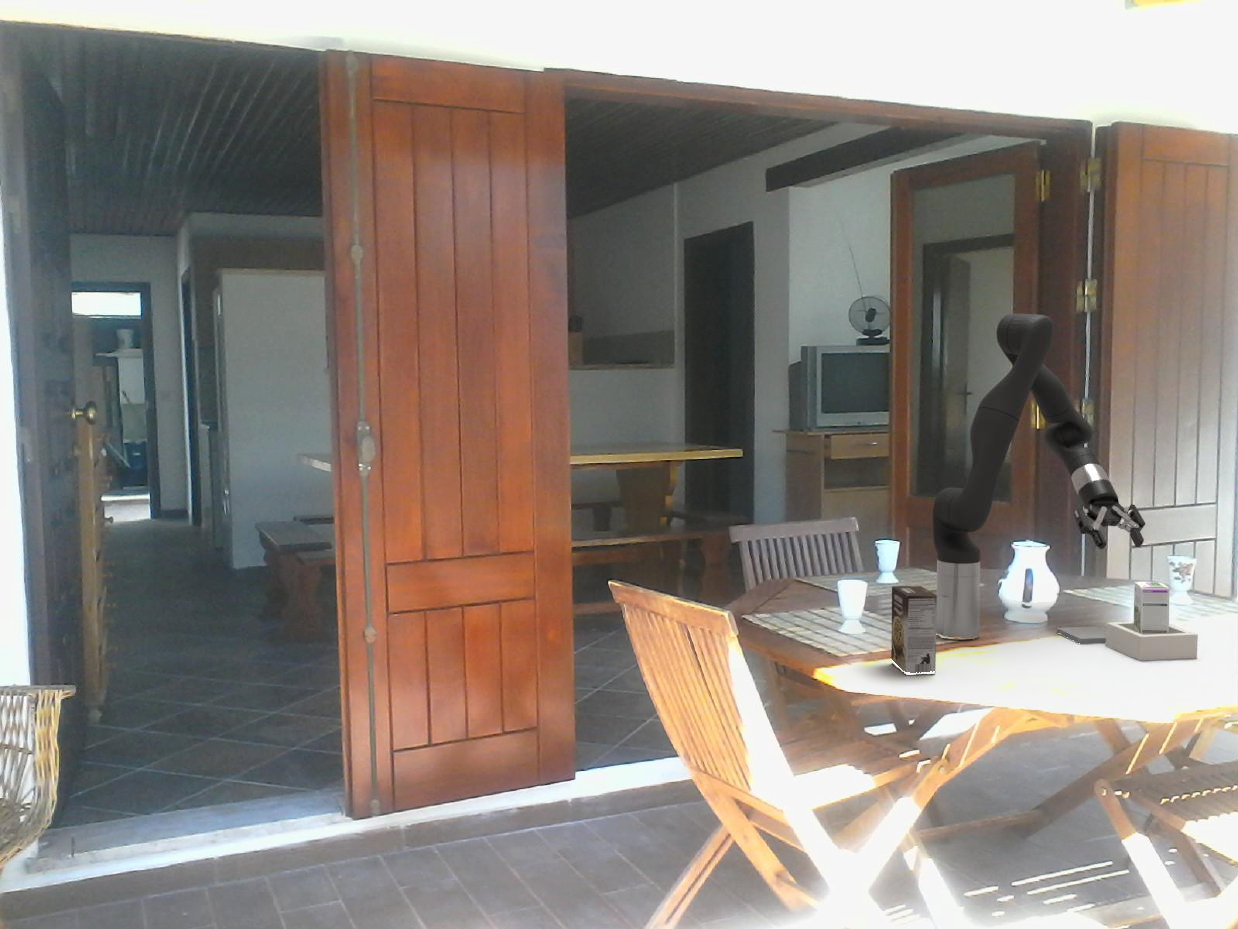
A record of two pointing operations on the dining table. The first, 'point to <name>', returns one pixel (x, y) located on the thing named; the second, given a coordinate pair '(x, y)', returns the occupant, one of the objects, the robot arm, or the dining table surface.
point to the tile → (1084, 634)
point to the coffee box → (914, 628)
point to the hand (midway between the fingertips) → (1121, 546)
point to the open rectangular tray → (1151, 642)
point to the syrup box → (1151, 608)
